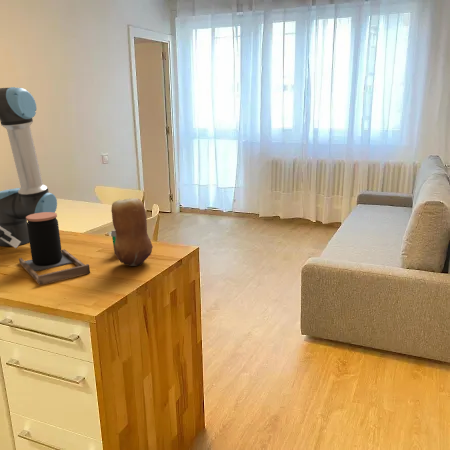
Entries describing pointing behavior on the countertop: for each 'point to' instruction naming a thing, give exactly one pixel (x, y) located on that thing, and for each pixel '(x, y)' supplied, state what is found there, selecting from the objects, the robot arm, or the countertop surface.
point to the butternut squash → (131, 231)
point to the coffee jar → (44, 238)
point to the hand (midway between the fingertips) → (13, 240)
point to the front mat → (38, 268)
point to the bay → (58, 275)
